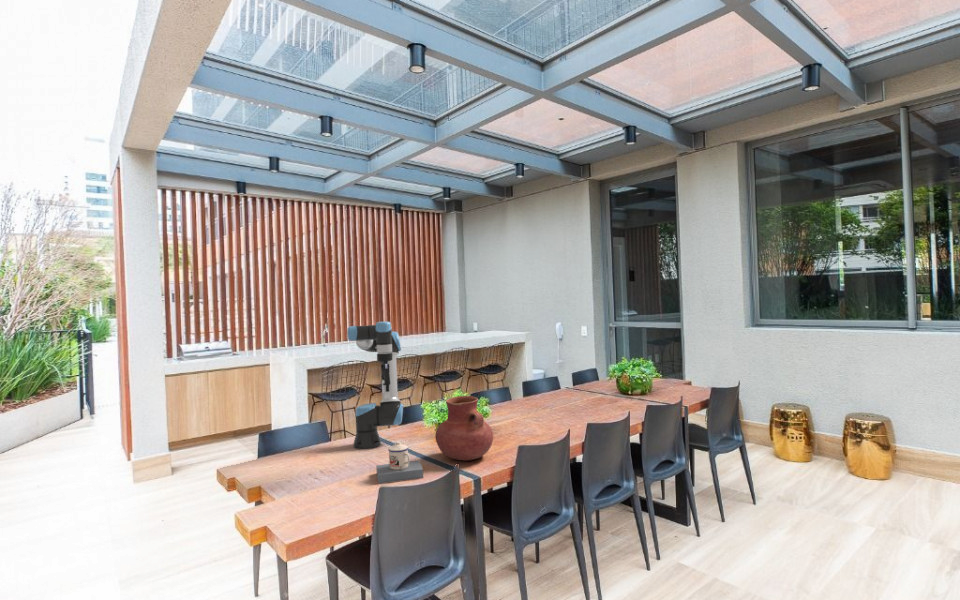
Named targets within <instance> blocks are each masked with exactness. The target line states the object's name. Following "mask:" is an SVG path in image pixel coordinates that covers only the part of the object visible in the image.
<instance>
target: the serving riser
mask: <svg viewBox="0 0 960 600" xmlns="http://www.w3.org/2000/svg"><path fill="white" fill-rule="evenodd" d="M375 470H376V476H377V483H378V484H380V485H381V484H385V483H393V482H402V481H407V480H408V481H409V480H417V479H423V478H424V469H423V466H422V464H421V463H420V460H419V459H418V460H410V462H409V463H408V467H407V468H405V469H402V470H392V469H390V464H389V463H385V464H379V465H376V469H375Z"/></svg>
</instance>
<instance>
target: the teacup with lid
mask: <svg viewBox="0 0 960 600" xmlns="http://www.w3.org/2000/svg"><path fill="white" fill-rule="evenodd" d="M387 450H388V456H389V457H388V459H389V460H388V461H389V463H388V464H390V469H392V470H402V469H405V468H407V467H408V463H409V462H410V461H411V456H410V454H409V447H408V445H406V444H404V443H401V441H395V443H394V444H393V445H391V446H389V448H388V449H387Z"/></svg>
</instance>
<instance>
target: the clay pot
mask: <svg viewBox="0 0 960 600" xmlns="http://www.w3.org/2000/svg"><path fill="white" fill-rule="evenodd" d="M478 401H479V398H478V397H475V396H473V395H459V396H453V397H449V398H447V399H446V400H445V403H446V407H447V418H446V420H444V421H443V422H441V423H440V424H439V425H438V426H437V428H436V431H435V441H436V443H437V444H436V445H437V446H438V449H439V450H440V452H441V453H442V454H444V456H446V457H448V458H450V459H453V460H457V461H472V460H473V461H474V460H477V459H479V458H481V457H483V456H485V455H486V454H487V453H488V451H489V450H490V449H491V447H492V445H493V441H494V432H493V430H492V427H491V426H490V424H489V423H487V422H486V421H485V419H484V415H483V414H482V413H481V412H480V411H478Z"/></svg>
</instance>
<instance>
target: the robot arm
mask: <svg viewBox="0 0 960 600" xmlns="http://www.w3.org/2000/svg"><path fill="white" fill-rule="evenodd" d="M347 340H348V341H349V342H352V341H353V342H355V344H356V346H357V347H358V349H360V350H362V351H366V352H369V353H377V354H376V361H377V362H380V371H381V375H380V378H381V389H382V390H381V392H382V400H381V401H380V402H379V405H377V403H375V402H369V403H365V404H361V405H359V406H357V407H356V408H355V416H354V417H355V429H356V431H355V433H356V434H355V436H354V440H353V448H354V449H356V450H371V449H375V448H378V447H380V446H381V444H382V439H381V437H380V434H379V432H378V427H388V426H399V425H401V423H402V421H403V414H404V404H403V403H401V399H399V397H398V396H399V394H398V393H399V392H398V372H397V371H398V370H397V367H398V366H397V357H398V356H399V354H400V353H399V352H401V351H402V347H401V342H400V336H399V332H397V331H393V329H392V323H391V322H390V321H377V322H376V323H375V324H371V325H369V324H368V325H352V326H351V325H350V326H348V327H347Z"/></svg>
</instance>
